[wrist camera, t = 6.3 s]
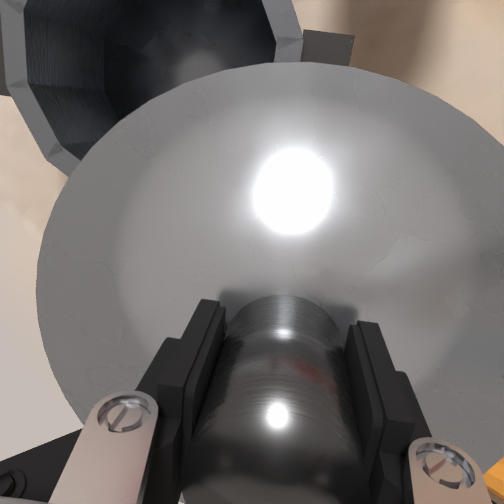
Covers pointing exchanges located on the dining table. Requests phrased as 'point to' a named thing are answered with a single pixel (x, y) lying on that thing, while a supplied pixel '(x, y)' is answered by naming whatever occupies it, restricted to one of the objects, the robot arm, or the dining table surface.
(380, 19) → the dining table surface
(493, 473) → the carrot
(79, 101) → the pot
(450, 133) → the lid
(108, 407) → the robot arm
